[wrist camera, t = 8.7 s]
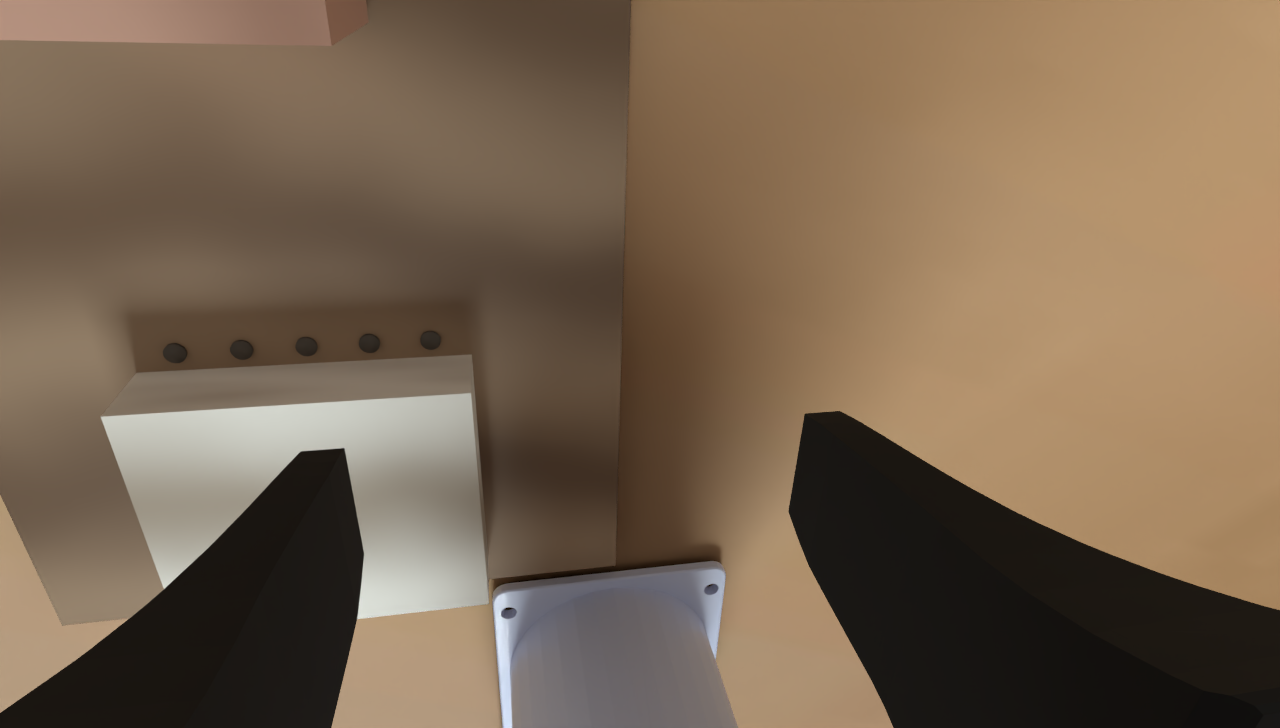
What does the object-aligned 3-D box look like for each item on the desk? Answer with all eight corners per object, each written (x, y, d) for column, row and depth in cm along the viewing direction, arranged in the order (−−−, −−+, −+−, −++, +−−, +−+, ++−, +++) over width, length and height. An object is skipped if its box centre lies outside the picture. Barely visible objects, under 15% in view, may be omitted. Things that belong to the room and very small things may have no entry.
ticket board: (610, 544, 25) (626, 612, 22) (78, 599, 22) (25, 684, 20) (630, -316, 14) (663, -375, 12) (-380, -426, 12) (-625, -534, 9)
